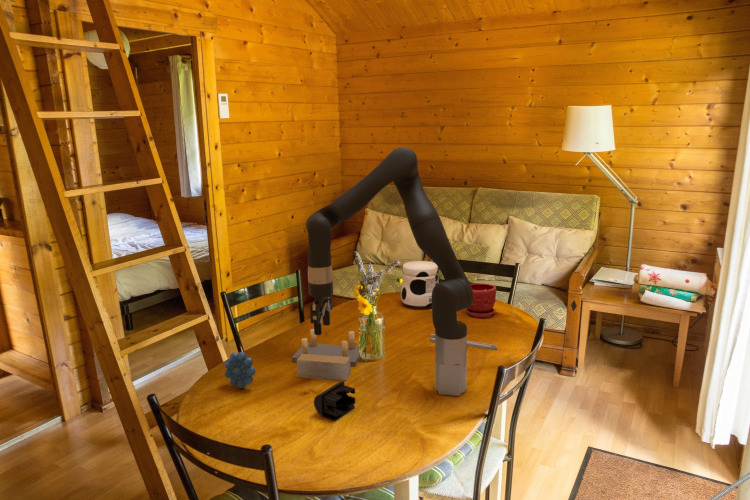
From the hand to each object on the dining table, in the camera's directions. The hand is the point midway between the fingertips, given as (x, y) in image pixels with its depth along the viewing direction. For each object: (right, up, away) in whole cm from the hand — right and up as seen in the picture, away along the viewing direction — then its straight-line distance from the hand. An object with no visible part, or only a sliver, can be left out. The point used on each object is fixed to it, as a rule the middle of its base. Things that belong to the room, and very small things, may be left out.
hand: (322, 329), depth 172 cm
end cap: (+5, -20, -19) cm, 28 cm away
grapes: (-24, -17, -4) cm, 30 cm away
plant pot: (+60, -2, +58) cm, 83 cm away
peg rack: (+1, -12, +18) cm, 21 cm away
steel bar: (0, -15, +3) cm, 16 cm away
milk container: (+36, +1, +72) cm, 81 cm away
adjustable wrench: (+47, -10, +26) cm, 55 cm away
